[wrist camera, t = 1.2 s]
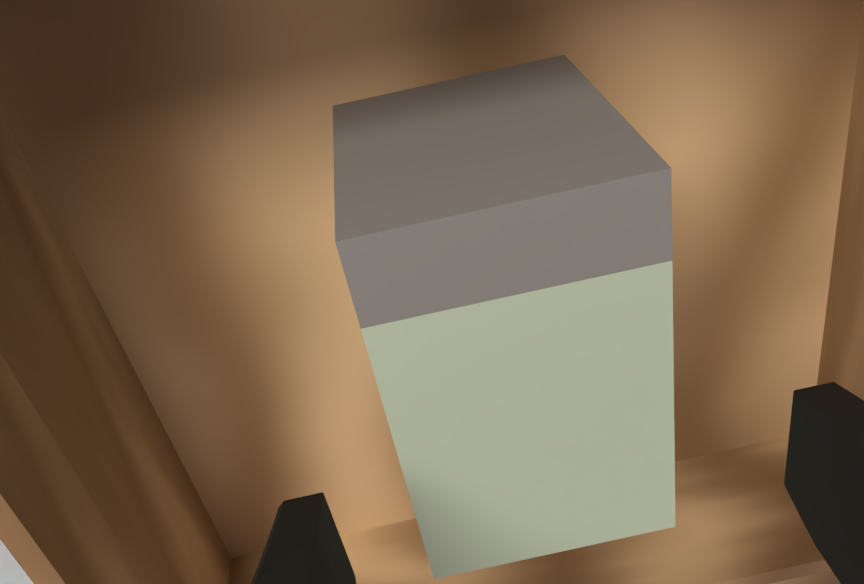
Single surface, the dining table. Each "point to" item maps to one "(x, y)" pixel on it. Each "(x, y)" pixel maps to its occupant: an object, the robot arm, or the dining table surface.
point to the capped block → (514, 308)
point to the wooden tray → (328, 290)
